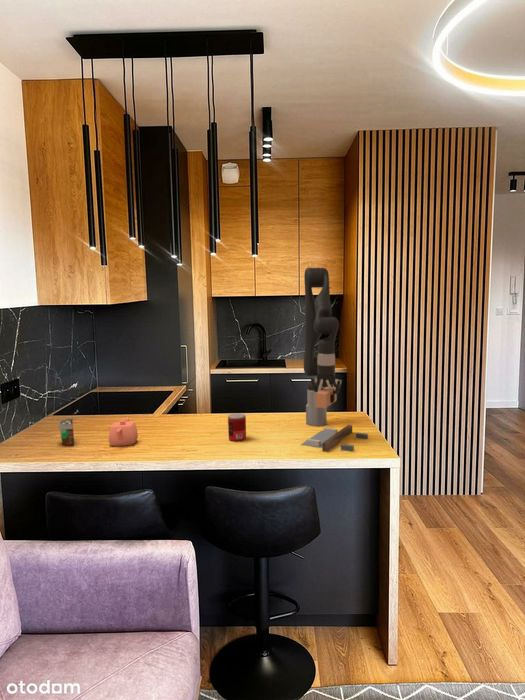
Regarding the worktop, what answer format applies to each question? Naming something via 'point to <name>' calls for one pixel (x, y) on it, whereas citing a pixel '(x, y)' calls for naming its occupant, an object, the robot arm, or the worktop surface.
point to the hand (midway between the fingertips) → (326, 401)
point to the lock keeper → (320, 437)
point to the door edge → (336, 438)
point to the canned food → (237, 427)
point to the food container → (67, 432)
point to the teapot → (123, 433)
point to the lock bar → (324, 398)
